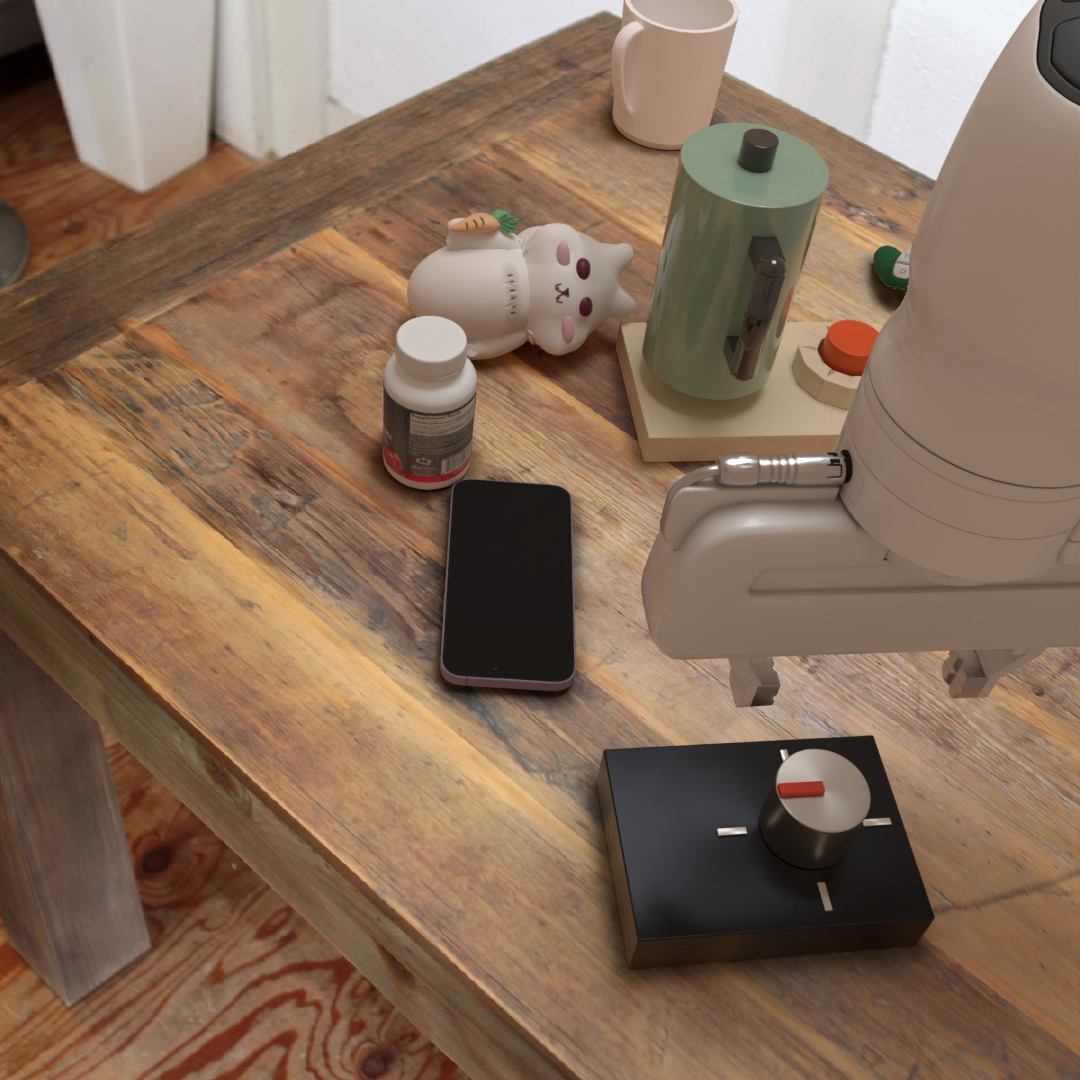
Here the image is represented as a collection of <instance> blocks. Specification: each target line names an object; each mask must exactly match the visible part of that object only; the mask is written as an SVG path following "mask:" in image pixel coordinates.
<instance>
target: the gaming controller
mask: <svg viewBox="0 0 1080 1080" xmlns="http://www.w3.org/2000/svg"><path fill="white" fill-rule="evenodd" d="M910 253H911V248H905V249H904V250H903V251H901V250H899V249H898V248H897V247H895V246H892V245H887V244H885V245H881V246H880V247H878V248H877V249H876V250H875V251H874V254H873V257H872V260H873V268H874V270H875V273H876V276H877V277H878V279H879V280H880V281H881V282H882V283H883V284H884V287H890V289H892V290H899V289H900V290H901V293H903V294H904V295H903V299H904V298H905V295H906V293H907V289H908V283H909V260H910Z"/></svg>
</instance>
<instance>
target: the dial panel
mask: <svg viewBox="0 0 1080 1080" xmlns="http://www.w3.org/2000/svg"><path fill="white" fill-rule="evenodd" d="M806 749H822V750H827V751H831V752H834V753H836V754H838V755H841V756H842V757H844V758H846V759H847V760H849V761H850V762H851V763H852V764H853V765H855V766H856V767H857V768H858V770H859V771H860V772H861V773H862V775H863V776H864V778H865V780H866V782H867V784H868V787H869V791H870V797H871V801H870V808H869V811H868V814H867V815H866V817H865V819H864V821H863V823H862V824H861V826H860V828H859V830H858V832H857V834H856V835H855V837H854V839H853V841H852V843H851V844H850V846H849V848H848V850H847V852H846V853H845V855H844V856H843V857H842V858H841V859H840V860H839V861H838V862H836V863H835V864H833V865H831V866H828V867H825V868H819V869H807V868H801V867H798V866H795V865H792V864H790V863H788V862H786V861H785V860H783V859H781V858H780V857H779V856H778V855H776V854H775V853H774V852H773V851H772V850H771V848H770V847H769V846H768V844H767V843H766V841H765V839H764V837H763V835H762V832H761V829H760V822H759V818H760V811H761V808H762V806H763V803H764V801H765V799H766V797H767V794H768V792H769V790H770V787H771V785H772V783H773V780H774V778H775V776H776V773H777V771H778V769H779V767H780V765H781V764H782V762H783V761H784V760H785V759H786V758H787V757H789V756H790V755H792V754H794V753H796V752H798V751H801V750H806ZM595 784H596V791H597V796H598V802H599V808H600V813H601V819H602V825H603V829H604V836H605V842H606V847H607V854H608V859H609V865H610V870H611V878H612V882H613V888H614V894H615V899H616V906H617V911H618V915H619V923H620V929H621V934H622V940H623V945H624V952H625V956H626V963H627V968H628V969H629V970H633V969H646V968H647V969H648V968H658V967H659V968H660V967H670V966H683V965H696V964H708V963H720V962H721V963H722V962H733V961H735V962H736V961H746V960H758V959H772V958H782V957H783V958H785V957H796V956H807V955H808V956H809V955H821V954H833V953H845V952H846V953H847V952H859V951H872V950H883V949H895V948H896V949H897V948H908V947H909V948H910V947H916V946H917V945H918V943H920V940H921V939H922V938H923V936H924V935H925V934H926V932H927V931H928V929H929V928H930V927H931V925H932V924H933V922H934V921H935V919H936V916H935V913H934V910H933V907H932V904H931V902H930V898H929V895H928V893H927V889H926V887H925V884H924V883H925V882H924V881H923V878H922V875H921V871H920V869H919V865H918V863H917V860H916V857H915V854H914V851H913V848H912V845H911V842H910V839H909V836H908V833H907V830H906V827H905V825H904V822H903V818H902V816H901V812H900V809H899V807H898V804H897V801H896V798H895V795H894V792H893V789H892V786H891V783H890V780H889V776H888V775H887V771H886V768H885V765H884V761H883V759H882V756H881V754H880V751H879V748H878V744H877V741H876V739H875V736H874V735H873V734H869V735H850V736H848V735H847V736H831V737H830V736H828V737H815V738H814V737H812V738H792V739H773V740H758V741H757V740H755V741H737V742H720V743H717V742H716V743H699V744H683V745H680V744H679V745H665V746H663V745H662V746H646V747H628V748H627V747H626V748H610V749H603V752H602V755H601V759H600V764H599V768H598V772H597V776H596V780H595Z"/></svg>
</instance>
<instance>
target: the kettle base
mask: <svg viewBox="0 0 1080 1080" xmlns="http://www.w3.org/2000/svg"><path fill="white" fill-rule="evenodd" d="M835 322H836V321H787V323H786V327H785V330H784V333H783V337H782V340H781V343H780V347H779V350H778V353H777V357H776V360H775V363H774V367H773V370H772V373H771V376H770V378H769V379H768V381H767V382H766V383H765V384H764V385H763V386H762V387H761V388H760V389H758V390H757V391H755V392H753V393H752V394H749V395H747V396H744V397H740V398H736V399H729V400H711V399H703V398H699V397H694V396H691V395H688V394H685V393H682V392H680V391H678V390H676V389H674V388H672V387H670V386H668V385H667V384H665V383H664V382H662V381H661V380H660V379H659V378H658V377H657V376H656V375H655V374H654V373H653V372H652V371H651V370H650V369H649V367H648V365H647V364H646V362H645V359H644V357H643V353H642V341H643V336H644V331H645V326H646V322H620V323H619V327H618V332H617V337H616V343H615V351H616V355H617V359H618V363H619V367H620V371H621V376H622V380H623V383H624V387H625V391H626V395H627V399H628V404H629V408H630V412H631V417H632V420H633V421H632V422H633V424H634V429H635V433H636V437H637V441H638V444H639V449H640V453H641V457H642V461H643V463H678V462H680V463H681V462H715V461H716V458H717V457H718V456H720V455H725V454H730V453H743V452H746V453H755V454H757V455H781V454H782V455H783V454H788V453H798V452H834V449H835V445H836V442H837V440H838V437H839V434H840V432H841V429H842V426H843V424H844V421H845V418H846V416H847V413H848V410H849V408H850V405H851V402H852V400H853V398H854V395H855V393H856V390H857V387H858V385H859V382H860V379H861V377H862V376H848V375H845V374H842V373H840V372H837V371H834V370H832V369H831V368H830V367H828V366H827V365H826V364H825V362H824V361H823V359H822V356H821V350H822V347H823V344H824V341H825V338H826V335H827V332H828V329H829V327H830V326H831V325H832V324H834V323H835Z"/></svg>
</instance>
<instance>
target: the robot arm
mask: <svg viewBox="0 0 1080 1080" xmlns="http://www.w3.org/2000/svg"><path fill="white" fill-rule="evenodd" d="M961 122H962V123H961V124H960V127H959V129H958V130H957V133H956V134H955V137H954V139H953V141H952V144H951V145H950V147H949V150H948V152H947V155H946V157H945V159H944V162H943V163H942V166H941V167H940V170H939V173H938V175H937V178H936V180H935V182H934V185H933V187H932V189H931V192H930V195H929V197H928V199H927V202H926V205H925V207H924V209H923V212H922V214H921V217H920V220H919V223H918V225H917V228H916V231H915V234H914V236H913V240H912V242H911V247H910V249H911V253H910V260H909V283H908V289H907V293H906V294H904V296H905V298H904V297H903V299H902V301H901V303H900V305H899V306H898V307H897V309H895V311H894V312H893V313H892V314H891V315H890V317H888V319H887V320H886V321H885V323H884V324H883V326H882V327H881V329H880V330H879V331H878V332H879V334H878V336H877V338H876V340H875V342H874V345H873V347H872V350H871V352H870V355H869V358H868V361H867V363H866V366H865V369H864V371H863V374H862V377H861V379H860V382H859V385H858V387H857V390H856V393H855V395H854V398H853V400H852V402H851V405H850V408H849V410H848V413H847V416H846V418H845V421H844V424H843V426H842V429H841V432H840V434H839V437H838V440H837V442H836V445H835V449H834V452H798V453H788V454H783V455H782V454H781V455H757V454H755V453H746V452H743V453H730V454H725V455H720V456H718V457H717V458H716V461H714V463H713V464H709V465H705V466H700V467H699V468H696V469H694V470H692V471H690V472H688V473H686V474H681V475H679V476H677V477H675V479H674V480H673V481H672V482H671V483H670V485H669V488H668V489H667V493H666V496H665V501H664V504H663V508H662V512H661V517H660V521H659V530H658V533H657V535H656V536H655V539H654V540H653V544H652V546H651V548H650V551H649V554H648V557H647V560H646V562H645V565H644V568H643V572H642V575H641V581H640V590H641V598H642V606H643V610H644V616H645V619H646V624H647V627H648V631H649V634H650V637H651V639H652V641H653V643H654V644H655V645H656V647H658V648H659V650H661V652H662V653H664V655H666V656H667V657H668V658H670V659H673V660H677V661H678V660H679V661H688V660H692V661H693V660H711V659H712V660H715V659H728V664H729V666H730V670H729V675H728V679H729V686H730V691H731V695H732V698H733V702H734V705H735V708H738V709H739V708H740V709H742V708H753V707H767V706H768V707H769V706H773V705H774V703H775V697H776V696H777V695H778V694H779V690H780V688H781V680H780V678H779V675H778V672H777V671H776V670H775V669H774V668H773V667H774V666H775V661H774V658H775V657H804V656H805V657H807V656H832V655H835V656H836V655H837V656H838V655H860V654H861V655H865V654H892V653H893V654H897V653H898V654H899V653H923V652H926V653H928V652H948V657H947V658H945V659H944V660H943V663H942V665H941V675H942V679H943V682H944V683H945V684H947V685H948V689H947V692H948V694H949V696H950V698H952V699H954V700H955V699H957V700H958V699H986V698H988V697H989V696H990V695H991V692H992V691H993V689H994V687H995V686H996V684H997V683H998V681H999V680H1000V678H1004V677H1006V676H1007V675H1009V674H1011V673H1013V672H1014V671H1016V670H1018V669H1019V668H1021V667H1023V666H1025V665H1027V664H1028V663H1030V662H1031V661H1033V660H1035V659H1037V658H1039V657H1041V656H1042V655H1043V653H1044V652H1045V650H1046V649H1047V648H1048V649H1050V648H1074V647H1080V0H1036V2H1035V4H1034V5H1033V6H1032V7H1031V9H1030V10H1029V11H1028V12H1027V13H1026V15H1025V16H1024V18H1023V19H1022V20H1021V22H1020V23H1019V24H1018V25H1017V28H1016V29H1015V31H1013V32H1012V35H1011V36H1010V37H1009V39H1008V41H1007V43H1006V44H1005V45H1004V47H1003V48H1002V50H1001V52H1000V54H999V55H998V57H997V58H996V60H995V61H994V63H993V65H992V66H991V68H990V70H989V72H988V74H987V75H986V77H985V79H983V82H982V84H981V85H980V87H979V89H978V91H977V93H976V95H975V97H974V99H973V101H972V103H971V104H970V107H969V108H968V110H967V112H966V114H965V116H964V117H963V120H962V121H961Z"/></svg>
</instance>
